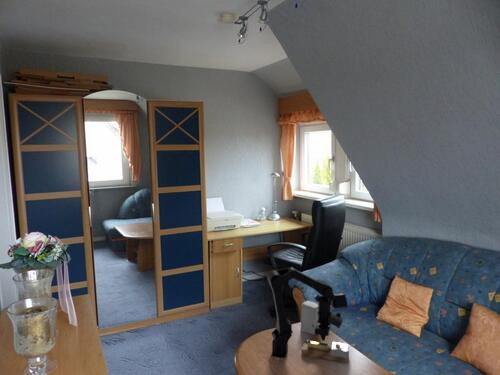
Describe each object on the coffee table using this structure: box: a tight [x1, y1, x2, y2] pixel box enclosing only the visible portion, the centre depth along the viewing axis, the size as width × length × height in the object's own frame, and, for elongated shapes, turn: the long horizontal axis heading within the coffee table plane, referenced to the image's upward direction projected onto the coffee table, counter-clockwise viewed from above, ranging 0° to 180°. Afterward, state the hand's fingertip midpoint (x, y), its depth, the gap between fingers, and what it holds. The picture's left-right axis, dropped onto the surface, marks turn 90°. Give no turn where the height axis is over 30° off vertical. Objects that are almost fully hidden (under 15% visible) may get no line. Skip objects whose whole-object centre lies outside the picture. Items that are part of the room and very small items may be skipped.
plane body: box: [300, 342, 350, 365], centre depth 170 cm, size 21×6×3 cm, turn 71°
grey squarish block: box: [331, 341, 349, 358], centre depth 168 cm, size 7×6×4 cm
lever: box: [304, 338, 329, 351], centre depth 171 cm, size 11×3×3 cm, turn 71°
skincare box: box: [300, 300, 318, 336], centre depth 193 cm, size 8×6×15 cm
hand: (323, 340), depth 176 cm, fingers closed
